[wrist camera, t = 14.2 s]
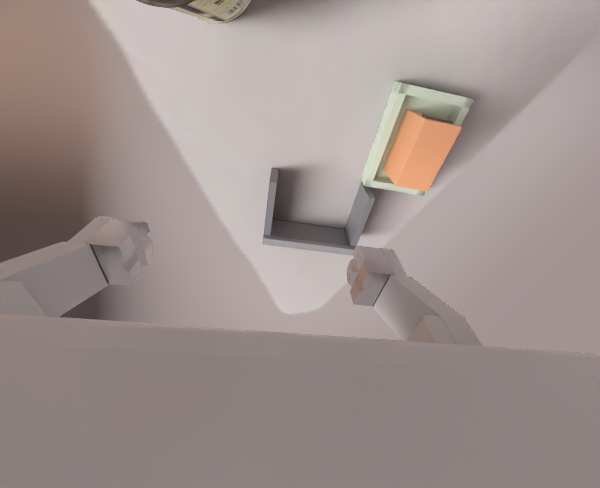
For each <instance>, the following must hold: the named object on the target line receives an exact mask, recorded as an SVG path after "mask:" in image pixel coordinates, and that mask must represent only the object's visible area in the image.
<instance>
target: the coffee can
mask: <svg viewBox="0 0 600 488" xmlns="http://www.w3.org/2000/svg"><path fill="white" fill-rule="evenodd" d="M137 1H139V2H142V3H144V4H148V5H152V6H157V7H165V8H169V9H173V10H176V11H179V12H182V13H185V14H188V15H191V16H194V17H197V18H199V19H201V20H203V21H207V22H210V23H225V22H229V21H231V20H233V19H236V18H237V17H238V16H239V15H240V14H241V13H242V12H243V11H244V10H245V9H246V8H247V6H248V5H249V3H250V1H251V0H137Z"/></svg>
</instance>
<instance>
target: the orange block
mask: <svg viewBox="0 0 600 488" xmlns="http://www.w3.org/2000/svg"><path fill="white" fill-rule="evenodd" d="M453 122H454V121H451V120H449V119H447V118H442V117H439V116H436V115H431V114H427V113H422V112H417V111H413V110H408V109H406V111H405V113H404V116H403V118H402V121H401V123H400V126H399V128H398V131H397V133H396V136H395V138H394V141H393V143H392V146H391V148H390V151H389V153H388V156H387V158H386V161H385V163H384V166H383V168H382V169H383V170H384V171H385V173H386V174H387V175H388V177H389V178H390V179H391V181H392V182H393V183H394V184H395V186H399V187H404V188H410V189H416V190H422V191H428V189H429V188H430V186H431V184H432V182H433V180H434V178H435V177H436V175H437V173H438V171H439V169H440V167H441V166H442V164H443V162H444V160H445V158H446V156H447V155H448V153H449V151H450V149H451V147H452V145H453V144H454V142H455V140H456V138H457V136H458V134H459V133H460V131H461V129H462V127H461V126H459V125H457V124H455V123H453Z"/></svg>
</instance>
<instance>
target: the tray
mask: <svg viewBox="0 0 600 488" xmlns="http://www.w3.org/2000/svg"><path fill="white" fill-rule="evenodd" d="M474 100H475V99H472V98H468V97H464V96H460V95H456V94H451V93H447V92H442V91H438V90H433V89H429V88H424V87H420V86H415V85H411V84H406V83H402V82H397V81H395V82H394V85H393V88H392V91H391V94H390V97H389V99H388V102H387V105H386V108H385V111H384V114H383V117H382V119H381V122H380V125H379V128H378V131H377V134H376V137H375V140H374V142H373V145H372V148H371V151H370V154H369V157H368V160H367V162H366V165H365V168H364V171H363V174H362V177H361V181H362V183H363V185H364V186H367V187H373V188H380V189H386V190H392V191H398V192H404V193H410V194H416V195H424V193H425V191H422V190H416V189H410V188H404V187H399V186H395V184H394V183H393V182H392V181H391V179H390V178H389V177H388V175H387V174H386V173H385V171H384V170H383V169H382V168H383V166H384V163H385V161H386V158H387V156H388V153H389V151H390V148H391V146H392V143H393V141H394V138H395V136H396V133H397V131H398V128H399V126H400V123H401V121H402V118H403V116H404V113H405V111H406V109H408V110H413V111H417V112H422V113H427V114H431V115H436V116H439V117H442V118H447V119H449V120H451V121H454V122H453V123H455V124H457V125H459V126H461V124H462V122H463V121H464V119H465V117H466V115H467V113H468V111H469V109H470V108H471V106H472V104H473V102H474Z"/></svg>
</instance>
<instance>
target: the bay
mask: <svg viewBox="0 0 600 488" xmlns="http://www.w3.org/2000/svg"><path fill="white" fill-rule="evenodd" d="M278 170H279V169H276V168H272V171H271V176H270V182H269V191H268V200H267V209H266V219H265V228H264V236H263V244H264V245H272V246H281V247H289V248H297V249H305V250H313V251H321V252H329V253H337V254H345V255H353V251H354V249H355V247H356V245H357V243H358V240H359V238H360V235H361V233H362V231H363V228H364V226H365V223H366V221H367V218H368V216H369V213H370V211H371V209H372V206H373V204H374V201H375V199H376V198H375V197H374V195H373V193H372V191H371V189H370V188H369V187H367V186H364V185H363V183H361V184H360V187H359V190H358V193H357V196H356V198H355V201H354V204H353V207H352V210H351V213H350V215H349V218H348V221H347V224H346V227H345V229H340V228H333V227H325V226H318V225H311V224H304V223H296V222H289V221H282V220H274V219H272V218H273V210H274V202H275V195H276V187H277V179H278Z"/></svg>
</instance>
